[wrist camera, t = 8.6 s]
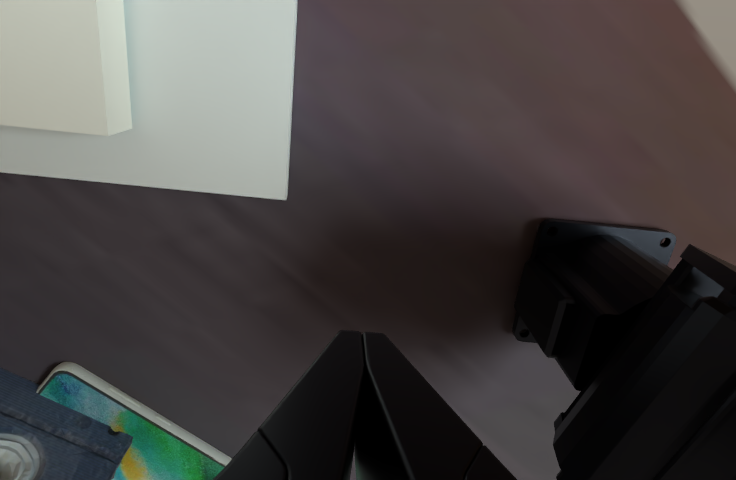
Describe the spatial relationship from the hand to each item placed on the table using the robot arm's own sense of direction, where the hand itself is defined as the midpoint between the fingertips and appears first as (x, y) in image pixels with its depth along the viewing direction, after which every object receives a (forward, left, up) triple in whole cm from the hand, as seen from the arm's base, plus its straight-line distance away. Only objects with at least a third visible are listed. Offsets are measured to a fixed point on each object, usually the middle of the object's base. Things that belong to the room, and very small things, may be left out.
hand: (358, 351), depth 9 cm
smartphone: (+10, +18, -14) cm, 25 cm away
